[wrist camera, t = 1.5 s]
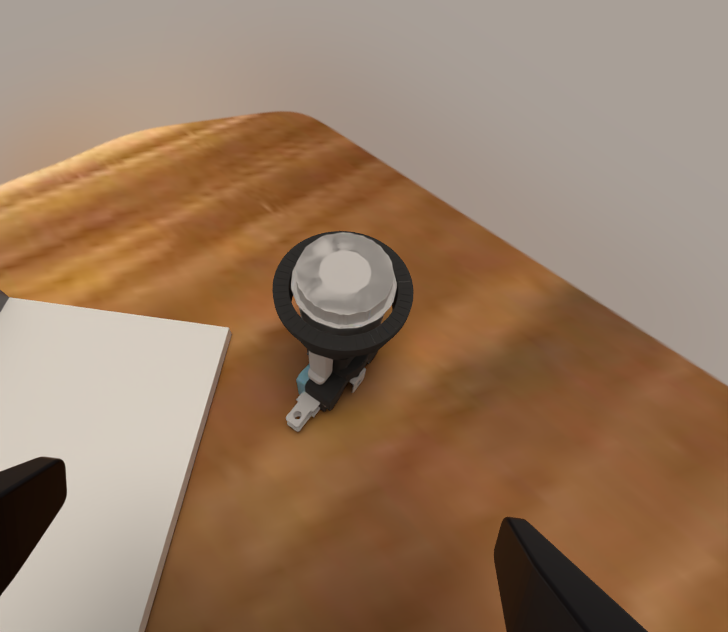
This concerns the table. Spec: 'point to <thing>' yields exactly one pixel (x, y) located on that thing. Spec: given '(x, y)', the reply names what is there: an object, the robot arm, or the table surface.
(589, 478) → the table surface
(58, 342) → the marker board
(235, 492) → the table surface
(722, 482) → the table surface
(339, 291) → the push button
